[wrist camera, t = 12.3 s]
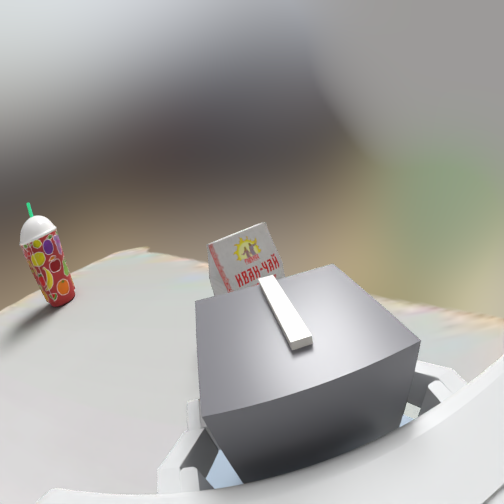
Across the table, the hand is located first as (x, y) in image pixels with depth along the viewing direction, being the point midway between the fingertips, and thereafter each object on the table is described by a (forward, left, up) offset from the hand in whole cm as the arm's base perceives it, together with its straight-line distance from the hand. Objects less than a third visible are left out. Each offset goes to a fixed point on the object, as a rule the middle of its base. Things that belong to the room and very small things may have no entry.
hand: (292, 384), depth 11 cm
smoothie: (-10, +51, -9) cm, 53 cm away
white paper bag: (+10, +16, -9) cm, 21 cm away
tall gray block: (0, -1, -6) cm, 6 cm away
